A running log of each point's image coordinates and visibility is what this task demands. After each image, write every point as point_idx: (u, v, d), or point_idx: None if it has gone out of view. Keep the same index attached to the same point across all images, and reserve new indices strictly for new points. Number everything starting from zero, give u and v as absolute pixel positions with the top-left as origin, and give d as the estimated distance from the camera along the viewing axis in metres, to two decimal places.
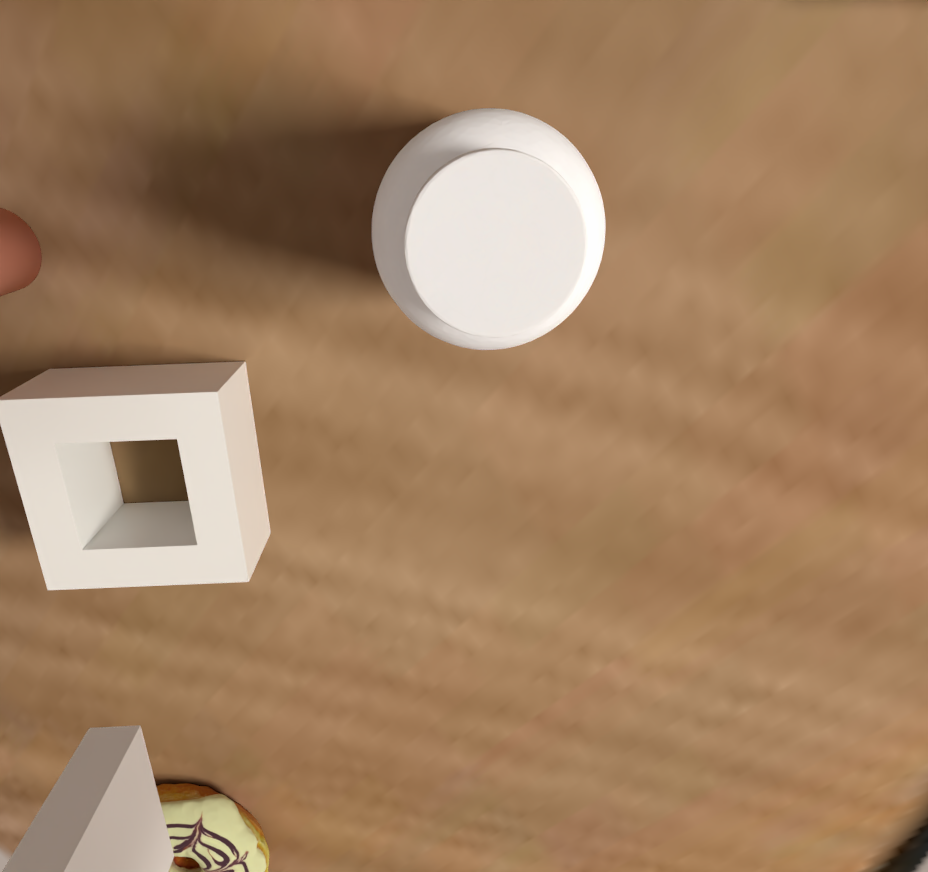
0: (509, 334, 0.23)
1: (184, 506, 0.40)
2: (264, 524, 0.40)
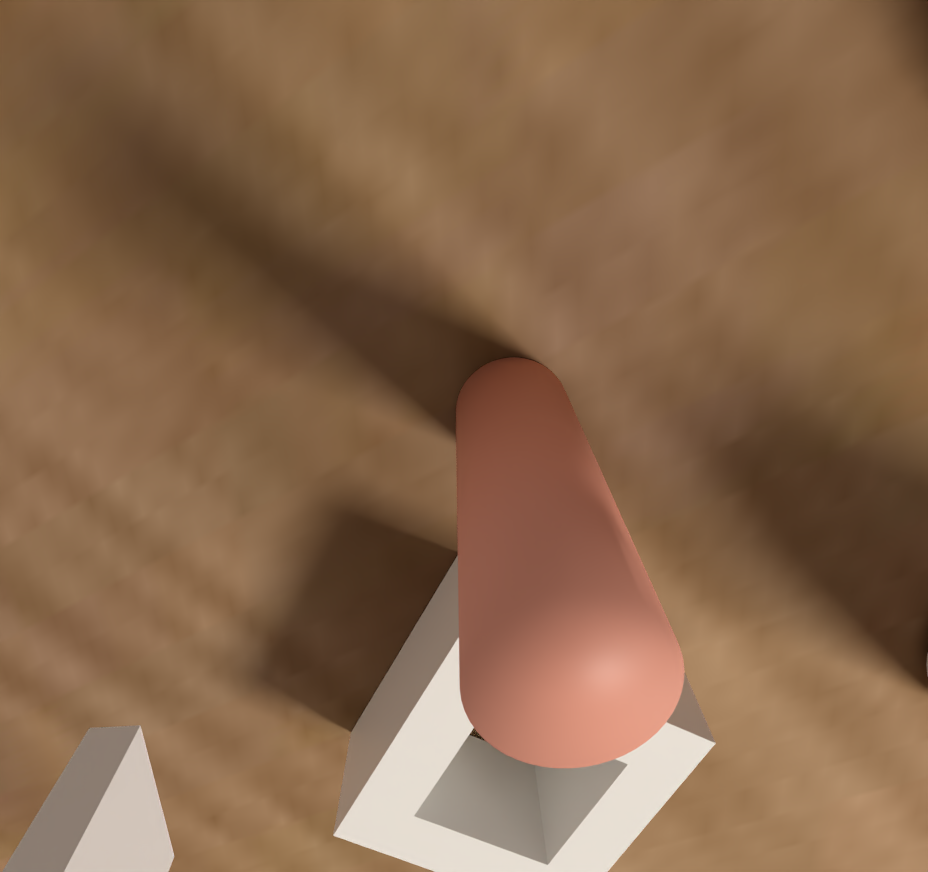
0: None
1: (493, 755, 0.31)
2: None
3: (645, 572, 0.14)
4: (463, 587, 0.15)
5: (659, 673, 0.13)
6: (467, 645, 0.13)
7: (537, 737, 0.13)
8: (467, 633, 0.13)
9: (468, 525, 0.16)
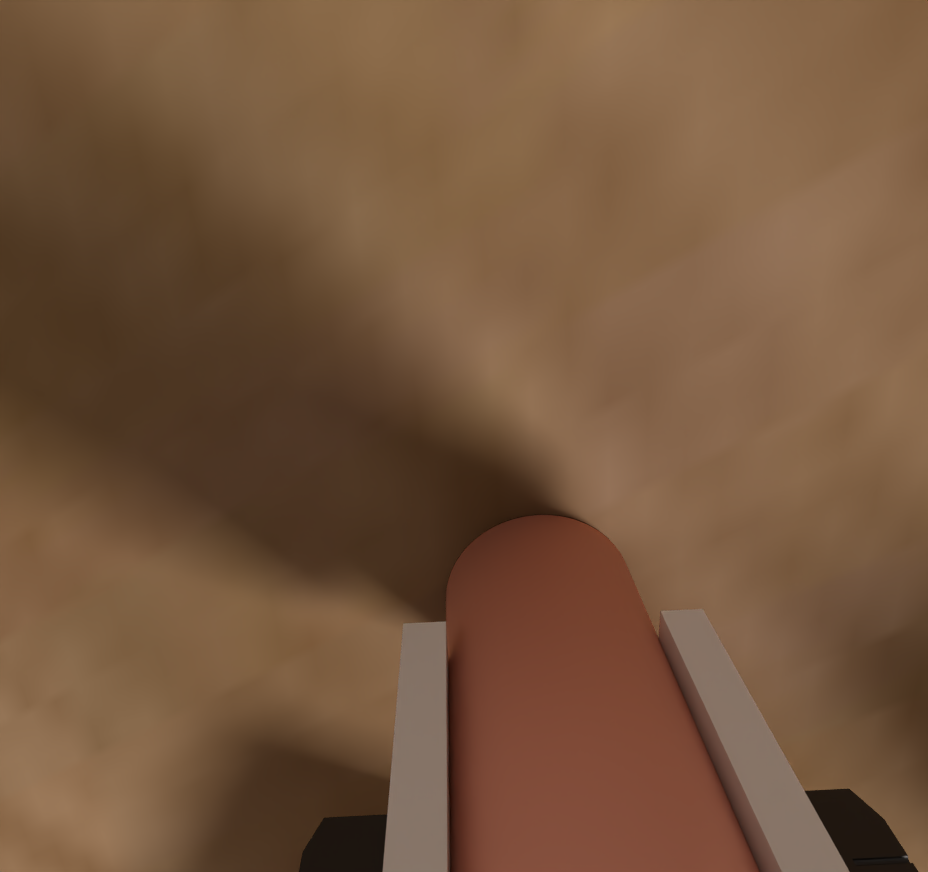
0: None
1: None
2: None
3: None
4: None
5: None
6: None
7: None
8: None
9: None
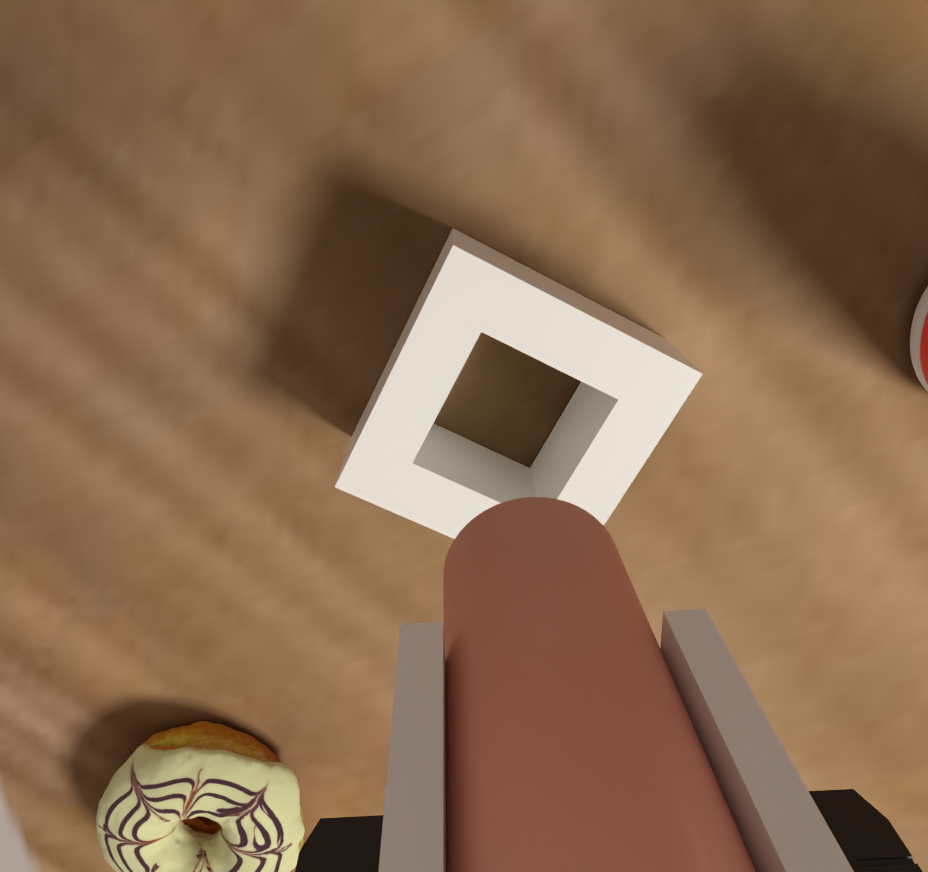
0: None
1: (490, 454, 0.32)
2: None
3: None
4: None
5: None
6: None
7: None
8: None
9: None
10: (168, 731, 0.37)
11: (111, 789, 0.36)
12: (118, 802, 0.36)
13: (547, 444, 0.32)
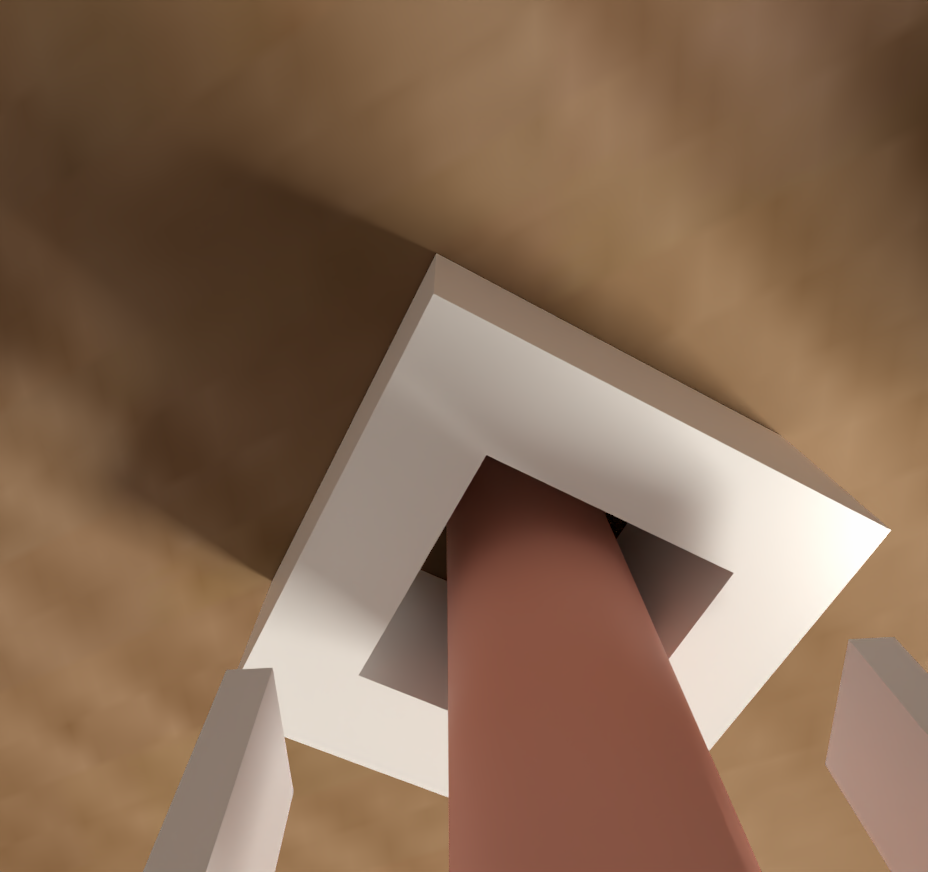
0: None
1: None
2: None
3: None
4: None
5: None
6: None
7: None
8: None
9: (465, 790, 0.10)
10: None
11: None
12: None
13: None
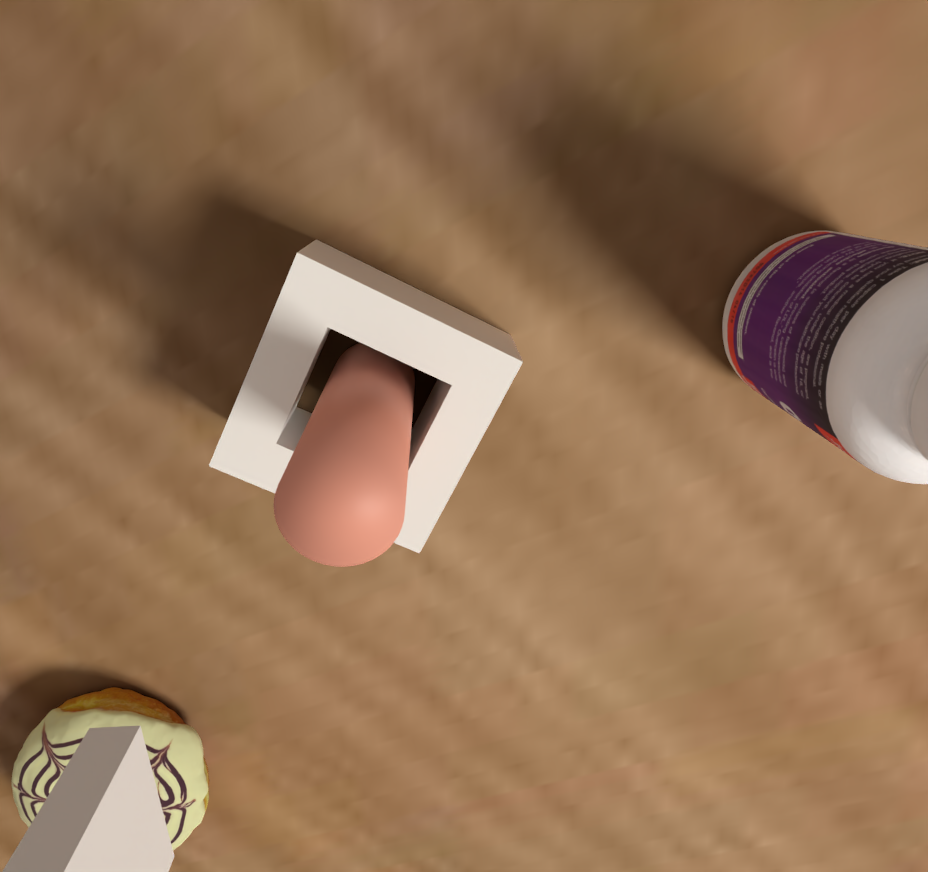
0: None
1: None
2: None
3: (395, 452, 0.24)
4: None
5: (389, 501, 0.22)
6: (277, 488, 0.22)
7: (324, 545, 0.23)
8: None
9: None
10: (80, 696, 0.40)
11: (24, 749, 0.39)
12: (30, 761, 0.39)
13: (413, 430, 0.36)
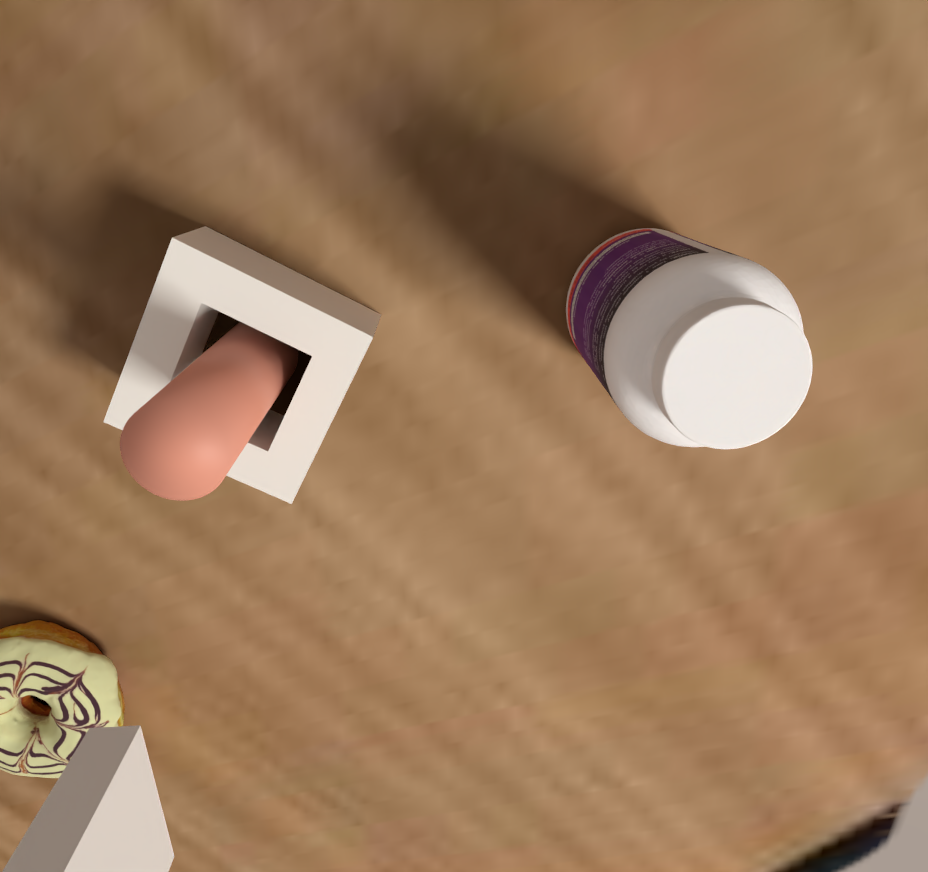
0: (704, 444, 0.27)
1: None
2: None
3: (231, 407, 0.29)
4: None
5: (216, 446, 0.27)
6: None
7: (164, 482, 0.28)
8: None
9: None
10: (7, 627, 0.45)
11: None
12: None
13: None
